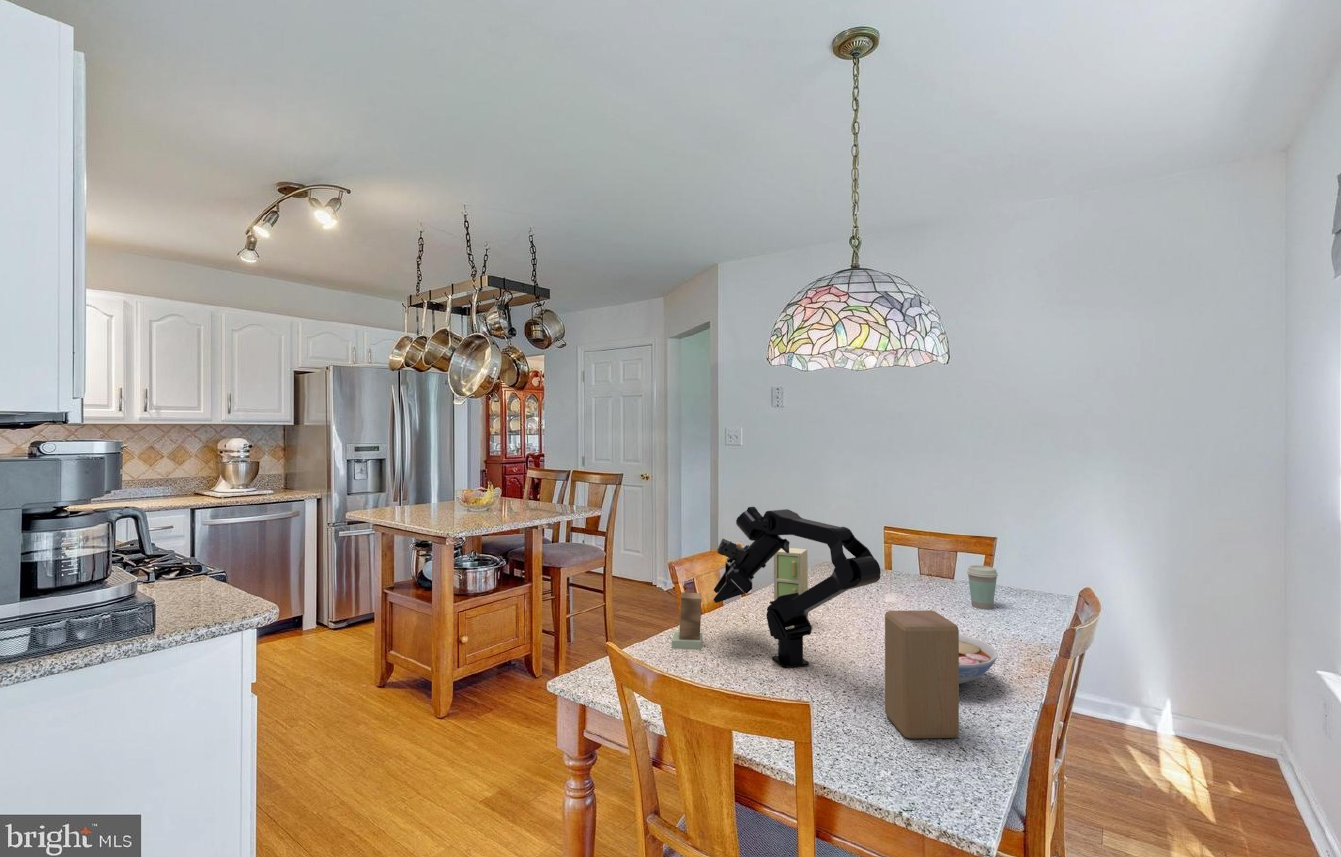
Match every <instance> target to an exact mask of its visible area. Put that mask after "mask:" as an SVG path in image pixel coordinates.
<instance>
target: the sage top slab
mask: <svg viewBox="0 0 1341 857" xmlns="http://www.w3.org/2000/svg"><path fill="white" fill-rule="evenodd" d="M679 632H680V631H674V633H673V637H672V639H671V649H674V650H675V649H680V650H701V649H702V645H703V638H704V637H703V632H700V640H691V639H679Z"/></svg>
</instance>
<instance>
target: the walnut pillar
mask: <svg viewBox="0 0 1341 857" xmlns="http://www.w3.org/2000/svg"><path fill="white" fill-rule="evenodd" d="M702 601H703V600H702V592H699V593H698V592H683V591H682V592H681V594H680V613H679V631H678V632H679V639H691V640H700V633H701V618H702V617H701V616H702Z"/></svg>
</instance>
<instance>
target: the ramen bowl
mask: <svg viewBox="0 0 1341 857" xmlns="http://www.w3.org/2000/svg"><path fill="white" fill-rule="evenodd" d="M883 643H884V644H885V638H884V639H883ZM997 658H998V653H997V649H995V647H993V646H991V645H990V644H988V643H987V642H985V641H982V640H980V639H977V638H975V637H972V636H969V635H964V634H960V633H959V685H960V684H965V683H969V682H973V681H975V680H978V679H979V678H981V677H982V676H983V675H984V674H985V673H986V672H988V671H989V670H990V668H991V667H992V666H993V665H994V664H995V662H996V660H997Z"/></svg>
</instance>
